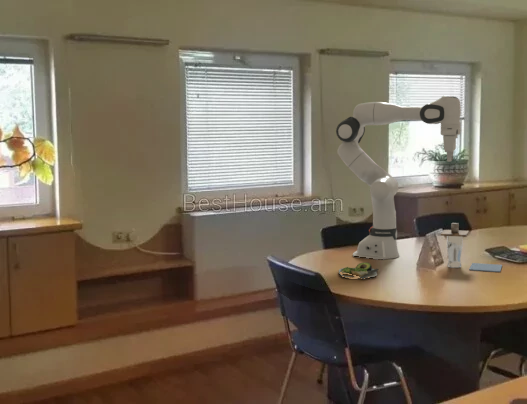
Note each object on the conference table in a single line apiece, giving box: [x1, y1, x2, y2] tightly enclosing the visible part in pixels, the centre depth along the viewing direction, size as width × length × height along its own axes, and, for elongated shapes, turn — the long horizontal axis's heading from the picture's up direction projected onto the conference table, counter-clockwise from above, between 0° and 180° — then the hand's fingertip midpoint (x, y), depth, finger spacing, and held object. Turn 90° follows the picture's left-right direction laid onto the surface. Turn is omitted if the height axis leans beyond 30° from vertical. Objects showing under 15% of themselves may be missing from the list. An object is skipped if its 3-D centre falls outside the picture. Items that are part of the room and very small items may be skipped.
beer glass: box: [446, 236, 464, 269], centre depth 303 cm, size 7×7×15 cm
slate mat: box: [468, 262, 503, 273], centre depth 300 cm, size 13×13×1 cm
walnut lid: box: [440, 222, 470, 238], centre depth 302 cm, size 11×11×5 cm
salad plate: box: [338, 262, 379, 280], centre depth 291 cm, size 19×18×5 cm
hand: (450, 160), depth 311 cm, fingers open, 8 cm apart
